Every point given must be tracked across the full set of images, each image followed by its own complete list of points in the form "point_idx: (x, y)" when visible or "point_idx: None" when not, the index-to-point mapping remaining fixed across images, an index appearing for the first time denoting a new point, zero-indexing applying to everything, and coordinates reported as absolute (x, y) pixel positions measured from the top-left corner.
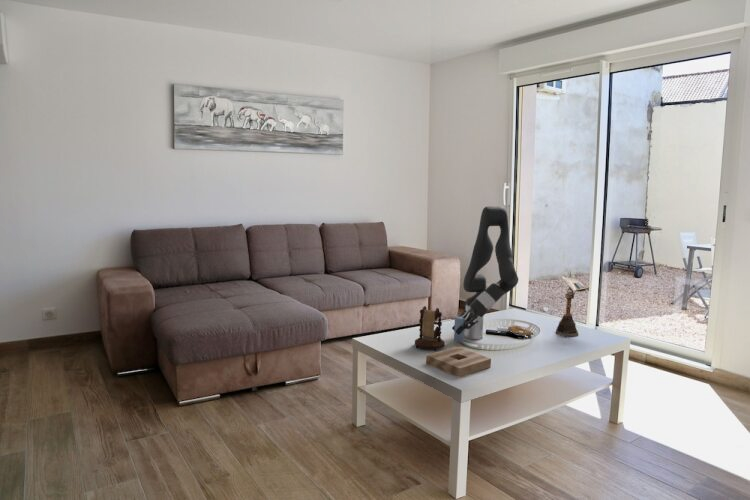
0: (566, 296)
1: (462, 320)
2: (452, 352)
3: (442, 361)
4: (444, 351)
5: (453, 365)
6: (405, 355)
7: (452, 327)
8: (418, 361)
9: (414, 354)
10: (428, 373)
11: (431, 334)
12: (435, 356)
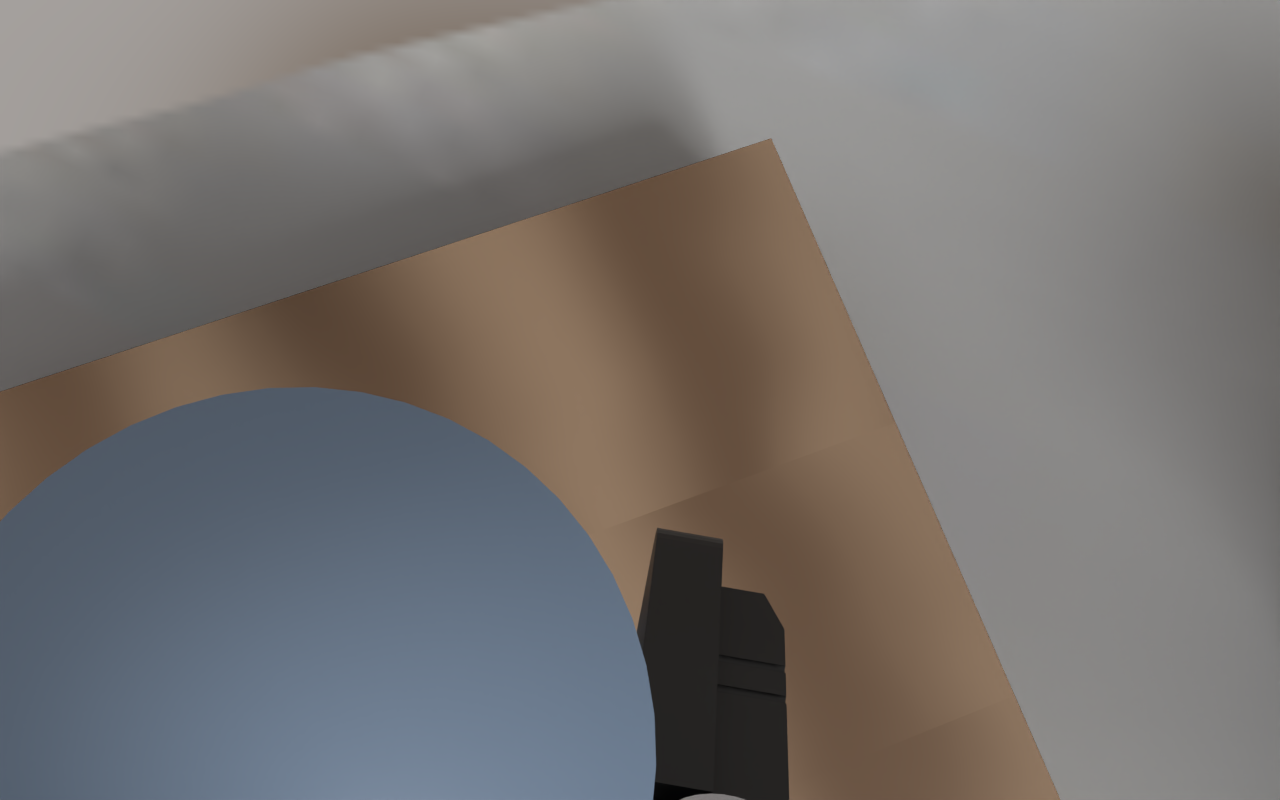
0: None
1: None
2: (794, 736)
3: (340, 280)
4: (897, 588)
5: (57, 386)
6: (1212, 54)
7: (697, 542)
8: (886, 141)
9: (1240, 211)
10: (325, 76)
11: None
12: (647, 271)
